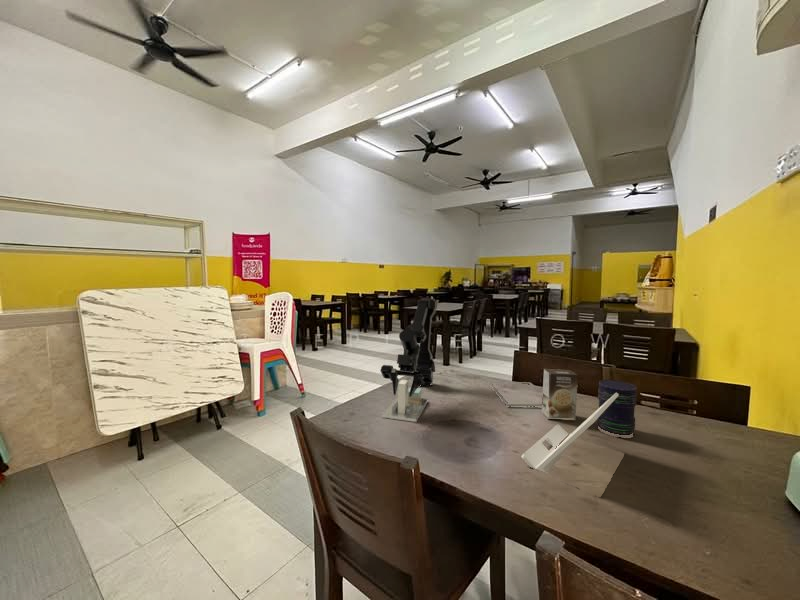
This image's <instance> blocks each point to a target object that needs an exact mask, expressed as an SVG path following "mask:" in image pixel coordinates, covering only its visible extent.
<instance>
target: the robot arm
mask: <svg viewBox="0 0 800 600" xmlns="http://www.w3.org/2000/svg"><path fill="white" fill-rule="evenodd" d="M416 304H417V305H416V306H417V307H416V310H415V312H414V313H415V314H414V317H413V322H412V323H410V324H409V325H408V326H406V328H405V329H403V330H401V332H399V334H398V337H399V340H400V343H401V346H402V348H403V350H404V351H403V354H400V353H399V354H397V358H396V359H397V360H396V364H397V365H398V366H397V367H398V368H399V369H396V368H394V367H393V365H389V364H383V365H382V366H380V373H381V375H382V378H384V379H388V380H390V381H391V382H392V390H393V395H394V396H396V394H397V393H398V383H399V382H400V380H399V378H398V376H402V377H411V378H413V379H412V383H411V386H410V387H411V389H410V394H409V396H410V397H411V396H412V395H413V393H414V392H415V391H416V389H417V388H420V387H419V386H420V385H421V386H423V387H429V386H428V385H430V384H431V383H432V384H433V382H434V373H435V372H436V365H435V360H434V359H433V358H434V357H433V354H432V351H431V350H430V346H431V334H432V319H433V317H434V315H435V314H436V312H437V309H438V301H437V300H436V299H435V298H424V297H423V298H420V299H418V300H417V303H416Z"/></svg>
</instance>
